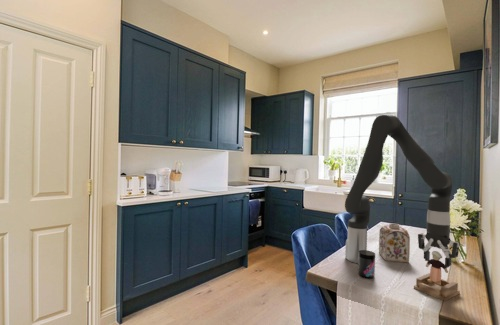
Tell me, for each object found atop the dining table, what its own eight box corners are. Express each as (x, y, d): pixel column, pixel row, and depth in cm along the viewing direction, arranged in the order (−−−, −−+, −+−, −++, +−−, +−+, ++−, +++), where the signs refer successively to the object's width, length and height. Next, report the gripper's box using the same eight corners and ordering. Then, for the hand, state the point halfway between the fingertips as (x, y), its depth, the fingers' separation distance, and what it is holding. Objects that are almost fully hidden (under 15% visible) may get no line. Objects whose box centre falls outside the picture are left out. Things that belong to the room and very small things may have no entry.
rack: (413, 288, 105) (414, 278, 105) (428, 281, 112) (429, 272, 111) (445, 301, 96) (445, 290, 96) (459, 293, 102) (460, 283, 102)
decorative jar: (409, 263, 132) (410, 227, 132) (384, 260, 134) (385, 226, 134) (401, 254, 144) (402, 222, 143) (378, 252, 146) (379, 220, 146)
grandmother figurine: (423, 281, 105) (424, 249, 105) (425, 278, 108) (426, 247, 108) (447, 288, 100) (448, 255, 100) (448, 284, 102) (449, 252, 102)
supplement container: (359, 278, 113) (360, 254, 113) (356, 272, 120) (357, 249, 120) (376, 280, 112) (377, 256, 112) (372, 273, 118) (373, 250, 118)
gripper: (414, 219, 108) (412, 259, 108) (455, 227, 95) (454, 272, 96) (423, 217, 112) (422, 256, 112) (464, 225, 99) (463, 268, 99)
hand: (437, 263), depth 104 cm, fingers closed on grandmother figurine, 6 cm apart
